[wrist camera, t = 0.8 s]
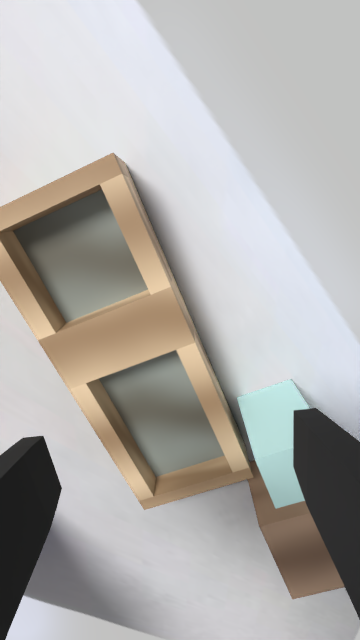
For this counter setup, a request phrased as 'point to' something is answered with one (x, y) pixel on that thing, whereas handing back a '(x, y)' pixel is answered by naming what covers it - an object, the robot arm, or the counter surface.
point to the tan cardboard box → (294, 542)
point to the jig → (120, 332)
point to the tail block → (274, 437)
